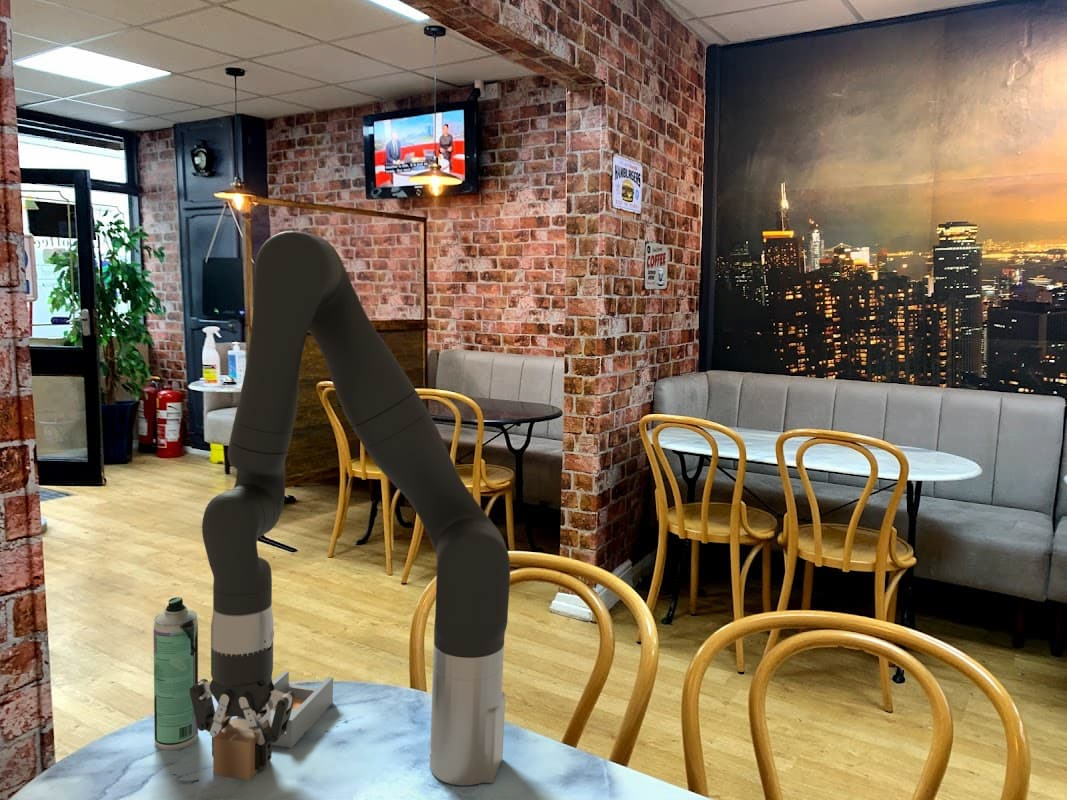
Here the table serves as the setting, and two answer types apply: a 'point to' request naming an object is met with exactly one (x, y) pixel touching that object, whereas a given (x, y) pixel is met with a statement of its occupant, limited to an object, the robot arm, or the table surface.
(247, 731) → the walnut block
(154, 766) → the table surface
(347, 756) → the table surface
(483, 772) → the robot arm
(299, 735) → the channel
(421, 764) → the table surface
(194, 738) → the spray can
